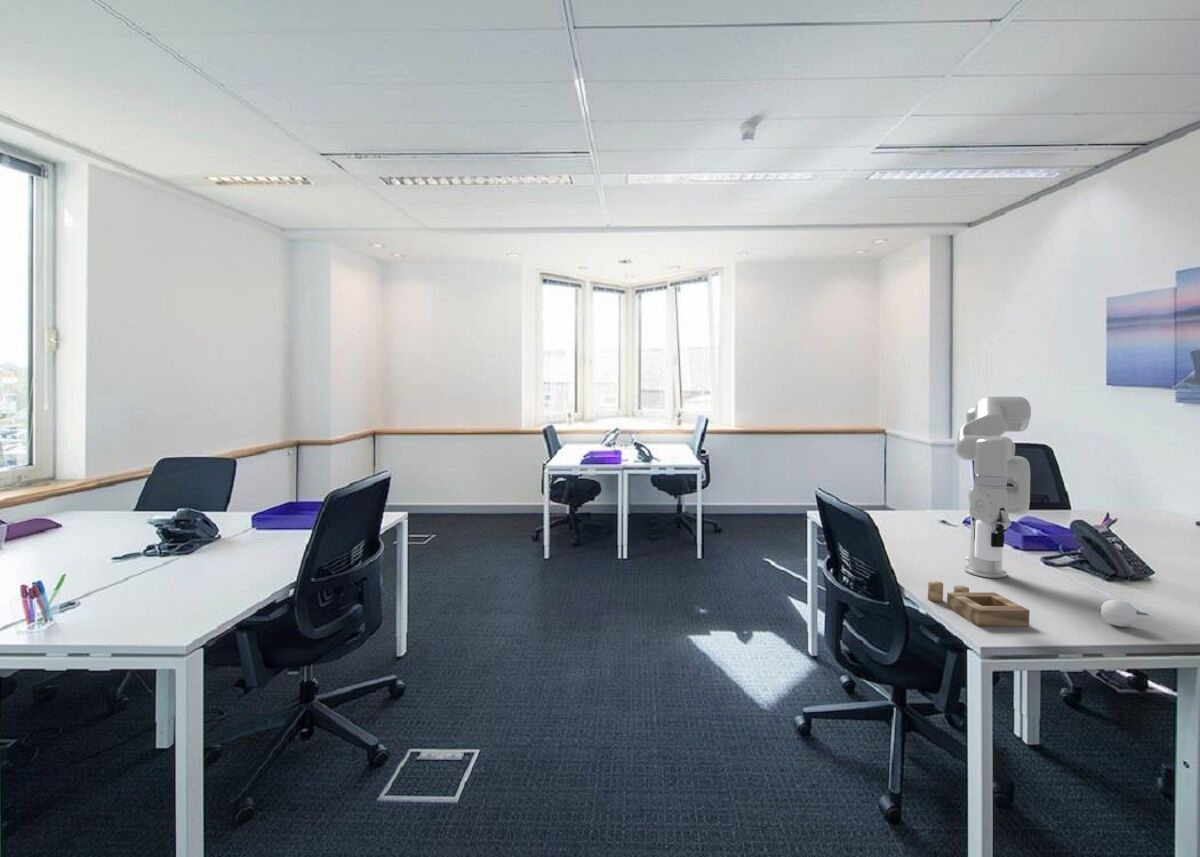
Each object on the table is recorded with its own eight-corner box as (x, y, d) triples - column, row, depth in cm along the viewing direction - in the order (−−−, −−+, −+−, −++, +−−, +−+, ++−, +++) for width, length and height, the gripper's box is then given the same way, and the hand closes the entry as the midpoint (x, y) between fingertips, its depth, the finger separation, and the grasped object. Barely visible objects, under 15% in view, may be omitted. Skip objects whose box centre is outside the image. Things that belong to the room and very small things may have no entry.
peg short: (950, 597, 176) (951, 585, 175) (963, 597, 176) (963, 585, 175) (958, 602, 172) (959, 589, 171) (971, 602, 172) (972, 589, 171)
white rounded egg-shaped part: (1117, 620, 157) (1118, 594, 157) (1144, 631, 150) (1145, 604, 149) (1083, 620, 157) (1084, 595, 156) (1108, 632, 149) (1109, 605, 149)
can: (972, 559, 160) (973, 517, 159) (977, 554, 164) (978, 514, 164) (999, 563, 155) (1000, 521, 154) (1004, 558, 160) (1005, 517, 159)
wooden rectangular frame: (947, 607, 168) (947, 592, 167) (993, 607, 168) (994, 592, 167) (977, 626, 154) (978, 610, 154) (1028, 626, 154) (1029, 610, 153)
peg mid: (925, 597, 176) (925, 580, 175) (937, 597, 176) (938, 580, 175) (932, 602, 172) (933, 585, 171) (945, 602, 172) (946, 584, 171)
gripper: (958, 477, 167) (956, 536, 168) (998, 486, 150) (996, 551, 151) (983, 477, 167) (981, 535, 168) (1026, 486, 150) (1024, 551, 151)
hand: (988, 542), depth 159 cm, fingers closed on can, 6 cm apart
